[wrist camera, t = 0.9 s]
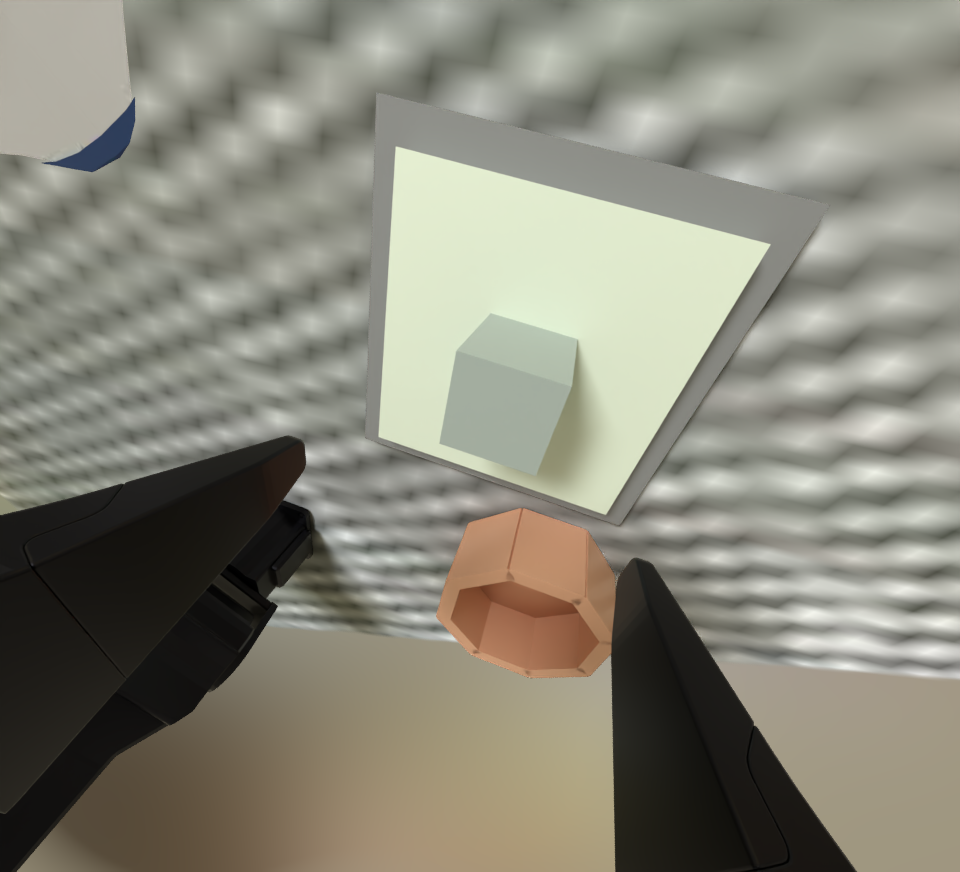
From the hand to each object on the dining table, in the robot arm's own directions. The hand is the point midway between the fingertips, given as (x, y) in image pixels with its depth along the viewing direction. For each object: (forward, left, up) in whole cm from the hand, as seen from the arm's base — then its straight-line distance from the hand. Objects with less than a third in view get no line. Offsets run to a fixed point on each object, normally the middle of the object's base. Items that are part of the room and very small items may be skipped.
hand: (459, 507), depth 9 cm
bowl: (+5, -16, -12) cm, 20 cm away
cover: (0, 0, -11) cm, 11 cm away
